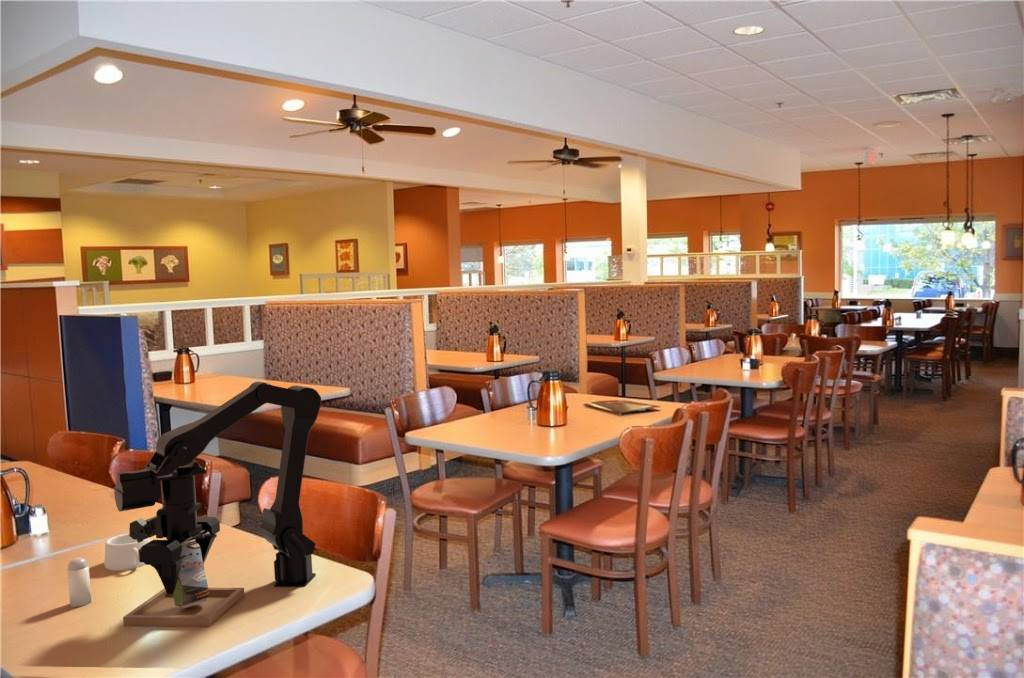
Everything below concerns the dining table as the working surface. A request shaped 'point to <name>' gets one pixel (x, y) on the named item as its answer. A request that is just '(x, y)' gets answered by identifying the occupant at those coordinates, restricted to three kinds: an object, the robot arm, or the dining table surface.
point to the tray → (183, 609)
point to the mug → (123, 553)
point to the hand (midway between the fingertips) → (183, 584)
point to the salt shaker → (79, 582)
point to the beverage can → (191, 577)
